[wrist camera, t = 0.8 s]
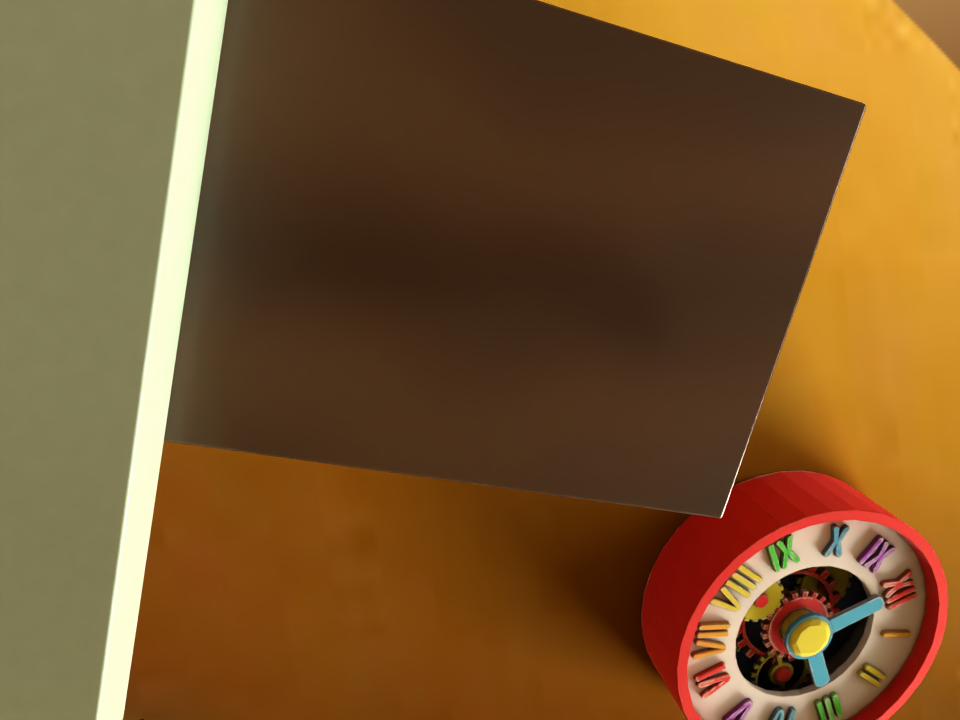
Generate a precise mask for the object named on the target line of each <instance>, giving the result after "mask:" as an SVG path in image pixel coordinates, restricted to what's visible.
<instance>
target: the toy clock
mask: <svg viewBox="0 0 960 720" xmlns="http://www.w3.org/2000/svg"><path fill="white" fill-rule="evenodd" d="M947 611H948V591H947V581H946V578H945V574H944V571H943V568H942V565H941V562H940V560H939V559H938V557H937V555H936V553H935V552H934V550H933V548H932V547H931V545H930V544H929V543H928V542H927V541H926V540H925V539H924V538H923V537H922V536H921V535H920V534H919V533H918V532H917V531H916V530H914V529H913V528H911V527H910V526H909V525H907V524H906V523H904V522H903V521H901V520H900V519H898V518H897V517H895V516H894V515H892V514H891V513H890V512H888V511H887V510H885V509H884V508H882V507H881V506H879V505H878V504H876V503H875V502H873V501H872V500H871V499H869V498H868V497H866V496H865V495H863V494H862V493H860V492H859V491H857V490H856V489H854V488H853V487H851V486H850V485H848V484H846V483H845V482H843V481H842V480H839V479H836V478H833V477H831V476H828V475H825V474H822V473H815V472H808V471H780V472H775V473H770V474H765V475H761V476H756V477H754V478H751V479H749V480H746V481H743V482H741V483H738V484H736V485H733V488H732V491H731V493H730V496H729V499H728V502H727V505H726V508H725V511H724V513H723V516H722V518H714V517H707V516H700V515H692V514H691V515H690V516H689V517H688V518H687V519H686V520H685V521H684V522H683V523H682V524H681V525H680V526H679V527H678V529H677V530H676V531H675V532H674V533H673V535H672V536H671V538H670V539H669V540H668V542H667V543H666V545H665V546H664V547H663V549H662V550H661V552H660V554H659V556H658V558H657V560H656V562H655V564H654V566H653V568H652V570H651V572H650V575H649V578H648V581H647V585H646V588H645V591H644V596H643V603H642V611H641V621H642V635H643V638H644V642H645V646H646V649H647V653H648V655H649V656H650V658H651V660H652V662H653V664H654V666H655V668H656V670H657V671H658V673H659V674H660V676H661V678H662V679H663V681H664V682H665V684H666V686H667V687H668V689H669V690H670V692H671V694H672V695H673V697H674V699H675V700H676V702H677V703H678V705H679V707H680V708H681V710H682V711H683V713H684V715H685V716H686V718H687V719H688V720H888V719H889V718H890V717H891V716H892V715H893V714H894V713H895V712H896V711H897V710H898V709H899V708H900V707H901V706H902V705H903V704H904V703H905V702H906V701H907V699H908V698H909V697H910V696H911V695H912V693H913V692H914V691H915V690H916V688H917V687H918V686H919V684H920V683H921V681H922V680H923V678H924V676H925V675H926V673H927V672H928V670H929V668H930V667H931V665H932V663H933V660H934V658H935V656H936V653H937V651H938V649H939V647H940V644H941V641H942V637H943V634H944V630H945V626H946V623H947Z"/></svg>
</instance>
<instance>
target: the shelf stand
mask: <svg viewBox="0 0 960 720" xmlns="http://www.w3.org/2000/svg"><path fill="white" fill-rule="evenodd" d="M865 109H866V105H865V104H863V103H861V102H858V101H855V100H851V99H848V98H845V97H842V96H839V95H836V94H832V93H829V92H826V91H823V90H820V89H817V88H813V87H810V86H807V85H804V84H801V83H798V82H794V81H791V80H788V79H785V78H782V77H779V76H775V75H772V74H769V73H766V72H763V71H760V70H756V69H753V68H750V67H747V66H744V65H741V64H737V63H734V62H731V61H728V60H725V59H722V58H718V57H715V56H712V55H709V54H706V53H703V52H699V51H696V50H693V49H690V48H687V47H684V46H680V45H677V44H674V43H671V42H668V41H665V40H661V39H658V38H655V37H652V36H649V35H646V34H642V33H639V32H636V31H633V30H630V29H627V28H623V27H620V26H617V25H614V24H611V23H608V22H604V21H601V20H598V19H595V18H592V17H589V16H585V15H582V14H579V13H576V12H573V11H570V10H566V9H563V8H560V7H557V6H554V5H551V4H548V3H544V2H541V1H538V0H228V5H227V12H226V18H225V25H224V32H223V39H222V46H221V53H220V59H219V66H218V73H217V80H216V87H215V94H214V100H213V107H212V114H211V121H210V128H209V134H208V141H207V148H206V155H205V162H204V169H203V175H202V182H201V189H200V196H199V203H198V210H197V216H196V223H195V230H194V237H193V244H192V250H191V257H190V264H189V271H188V278H187V285H186V291H185V298H184V305H183V312H182V319H181V326H180V332H179V339H178V346H177V353H176V360H175V366H174V373H173V380H172V387H171V394H170V401H169V407H168V414H167V421H166V428H165V435H164V441H168V442H175V443H182V444H189V445H197V446H204V447H211V448H218V449H225V450H232V451H240V452H247V453H254V454H261V455H268V456H276V457H283V458H290V459H297V460H304V461H312V462H319V463H326V464H333V465H340V466H347V467H355V468H362V469H369V470H376V471H383V472H391V473H398V474H405V475H412V476H419V477H427V478H434V479H441V480H448V481H455V482H462V483H470V484H477V485H484V486H491V487H498V488H506V489H513V490H520V491H527V492H534V493H542V494H549V495H556V496H563V497H570V498H577V499H585V500H592V501H599V502H606V503H613V504H621V505H628V506H635V507H642V508H649V509H657V510H664V511H671V512H678V513H685V514H692V515H700V516H707V517H714V518H722V516H723V513H724V511H725V508H726V505H727V502H728V499H729V496H730V493H731V491H732V488H733V485H734V482H735V479H736V476H737V474H738V471H739V468H740V465H741V462H742V459H743V456H744V454H745V451H746V448H747V445H748V442H749V439H750V436H751V434H752V431H753V428H754V425H755V422H756V419H757V417H758V414H759V411H760V408H761V405H762V402H763V399H764V397H765V394H766V391H767V388H768V385H769V382H770V380H771V377H772V374H773V371H774V368H775V365H776V362H777V360H778V357H779V354H780V351H781V348H782V345H783V342H784V340H785V337H786V334H787V331H788V328H789V325H790V323H791V320H792V317H793V314H794V311H795V308H796V305H797V303H798V300H799V297H800V294H801V291H802V288H803V285H804V283H805V280H806V277H807V274H808V271H809V268H810V266H811V263H812V260H813V257H814V254H815V251H816V248H817V246H818V243H819V240H820V237H821V234H822V231H823V229H824V226H825V223H826V220H827V217H828V214H829V211H830V209H831V206H832V203H833V200H834V197H835V194H836V191H837V189H838V186H839V183H840V180H841V177H842V174H843V172H844V169H845V166H846V163H847V160H848V157H849V154H850V152H851V149H852V146H853V143H854V140H855V137H856V134H857V132H858V129H859V126H860V123H861V120H862V117H863V115H864V112H865Z"/></svg>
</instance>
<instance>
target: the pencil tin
mask: <svg viewBox="0 0 960 720" xmlns="http://www.w3.org/2000/svg"><path fill="white" fill-rule="evenodd" d="M227 5H228V0H0V720H123V715H124V708H125V701H126V694H127V687H128V680H129V674H130V667H131V660H132V653H133V646H134V639H135V633H136V626H137V619H138V612H139V605H140V599H141V592H142V585H143V578H144V571H145V564H146V558H147V551H148V544H149V537H150V530H151V523H152V517H153V510H154V503H155V496H156V489H157V483H158V476H159V469H160V462H161V455H162V448H163V442H164V435H165V428H166V421H167V414H168V407H169V401H170V394H171V387H172V380H173V373H174V366H175V360H176V353H177V346H178V339H179V332H180V326H181V319H182V312H183V305H184V298H185V291H186V285H187V278H188V271H189V264H190V257H191V250H192V244H193V237H194V230H195V223H196V216H197V210H198V203H199V196H200V189H201V182H202V175H203V169H204V162H205V155H206V148H207V141H208V134H209V128H210V121H211V114H212V107H213V100H214V94H215V87H216V80H217V73H218V66H219V59H220V53H221V46H222V39H223V32H224V25H225V18H226V12H227Z"/></svg>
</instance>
